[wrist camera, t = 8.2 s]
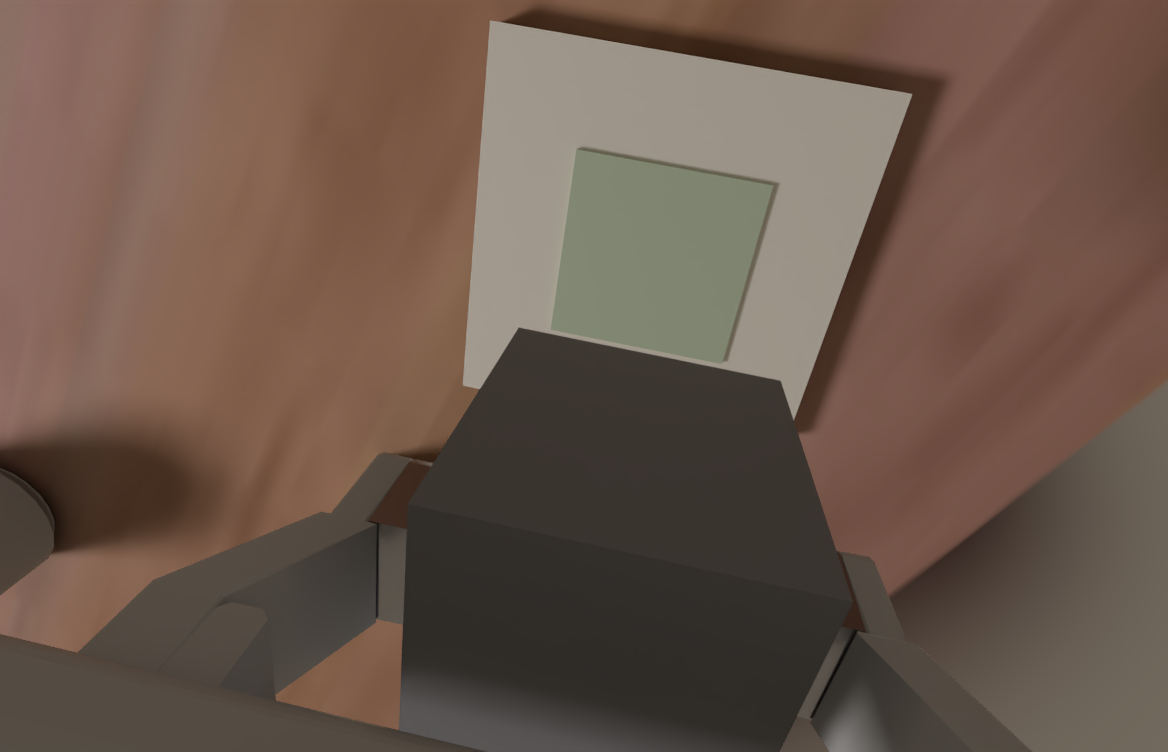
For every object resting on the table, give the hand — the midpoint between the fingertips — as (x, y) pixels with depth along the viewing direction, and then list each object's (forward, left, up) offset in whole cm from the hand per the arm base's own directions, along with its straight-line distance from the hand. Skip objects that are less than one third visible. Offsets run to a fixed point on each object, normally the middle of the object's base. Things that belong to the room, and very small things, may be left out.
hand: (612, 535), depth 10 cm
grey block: (0, 0, -2) cm, 2 cm away
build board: (0, 0, -17) cm, 17 cm away
